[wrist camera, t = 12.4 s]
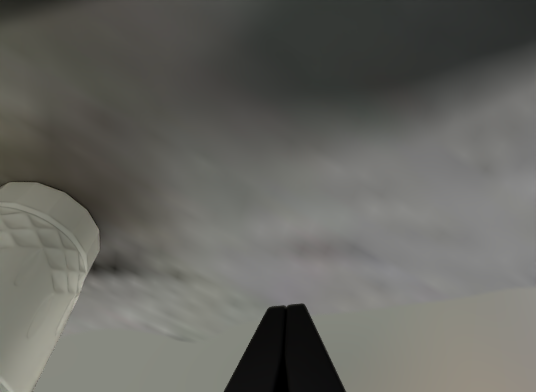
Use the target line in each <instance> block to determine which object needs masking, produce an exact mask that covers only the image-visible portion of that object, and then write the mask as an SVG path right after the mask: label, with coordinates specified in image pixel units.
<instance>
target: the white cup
mask: <svg viewBox="0 0 536 392" xmlns="http://www.w3.org/2000/svg"><path fill="white" fill-rule="evenodd" d="M99 250H100V235H99V229H98V227H97V225H96V224H95V222H94V220H93V219H92V217H91V215H90V214H89V212H88V210H87V209H85V208H84V207H83V206H82V205H80V204H79V203H78V202H77V201H75V200H74V199H73V198H71V197H70V196H69V195H68V194H66V193H65V192H62V191H60V190H57V189H54V188H51V187H49V186H46V185H43V184H40V183H38V182H9V183H7V184H5V185H3V186H1V187H0V392H33V390H34V388H35V386H36V384H37V382H38V380H39V378H40V376H41V374H42V372H43V370H44V368H45V366H46V364H47V362H48V360H49V358H50V356H51V354H52V352H53V350H54V348H55V346H56V344H57V342H58V340H59V338H60V336H61V334H62V332H63V330H64V328H65V325H66V323H67V321H68V319H69V316H70V314H71V311H72V309H73V308H74V306H75V304H76V302H77V299H78V297H79V295H80V293H81V289H82V286H83V283H84V280H85V278H86V276H87V274H88V272H89V270H90V268H91V266H92V264H93V262H94V260H95V259H96V257H97V255H98V253H99Z"/></svg>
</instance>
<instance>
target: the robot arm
mask: <svg viewBox="0 0 536 392" xmlns="http://www.w3.org/2000/svg"><path fill="white" fill-rule="evenodd" d="M224 392H346V391H345V389H344V386H343V384H342V382H341V380H340V378H339V376H338V374H337V372H336V369H335V367H334V365H333V363H332V361H331V359H330V357H329V355H328V352H327V350H326V348H325V346H324V344H323V342H322V340H321V338H320V335H319V333H318V331H317V329H316V327H315V325H314V323H313V321H312V318H311V316H310V314H309V312H308V310H307V308H306V306H305V305H304V304H302V303H301V304H292V305H288V306H287V307H286V306H284V305H282V306H272V307H269V308H268V309H267V311H266V313H265V315H264V316H263V318H262V320H261V322H260V324H259V326H258V328H257V330H256V332H255V334H254V335H253V337H252V339H251V341H250V343H249V345H248V347H247V349H246V351H245V352H244V354H243V356H242V358H241V360H240V362H239V364H238V366H237V368H236V370H235V372H234V373H233V375H232V377H231V379H230V381H229V383H228V385H227V386H226V388H225V390H224Z"/></svg>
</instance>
